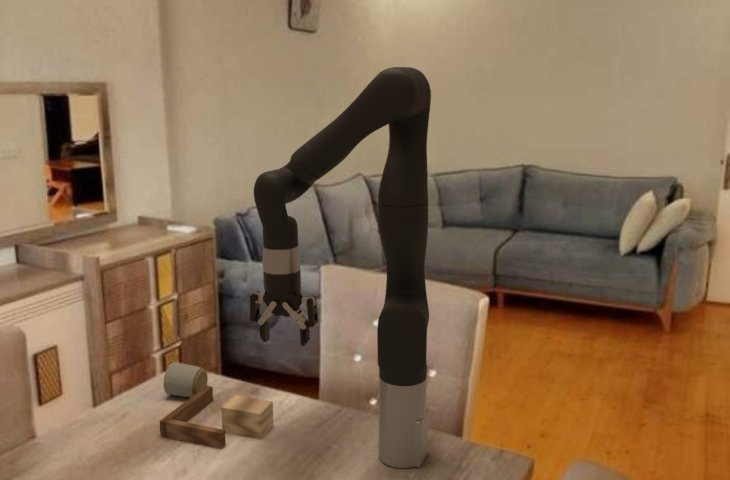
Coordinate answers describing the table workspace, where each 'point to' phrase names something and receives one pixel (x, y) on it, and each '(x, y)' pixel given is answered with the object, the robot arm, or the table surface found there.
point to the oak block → (247, 417)
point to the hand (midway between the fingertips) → (284, 342)
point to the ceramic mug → (184, 379)
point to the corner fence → (189, 432)
